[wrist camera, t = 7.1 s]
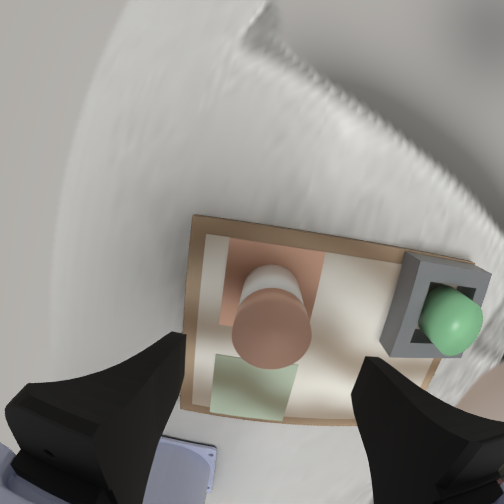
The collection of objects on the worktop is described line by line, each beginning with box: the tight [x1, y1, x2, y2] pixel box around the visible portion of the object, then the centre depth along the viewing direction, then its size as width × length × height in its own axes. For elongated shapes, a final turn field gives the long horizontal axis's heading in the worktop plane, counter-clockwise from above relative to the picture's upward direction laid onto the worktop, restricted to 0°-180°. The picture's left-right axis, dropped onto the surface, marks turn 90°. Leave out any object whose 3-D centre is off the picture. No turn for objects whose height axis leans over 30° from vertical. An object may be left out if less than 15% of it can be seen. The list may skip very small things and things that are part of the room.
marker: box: [232, 264, 312, 370], centre depth 17 cm, size 4×4×6 cm
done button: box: [418, 285, 483, 356], centre depth 17 cm, size 4×4×3 cm
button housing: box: [379, 251, 492, 358], centre depth 19 cm, size 7×7×2 cm
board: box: [180, 215, 475, 426], centre depth 21 cm, size 16×21×1 cm
